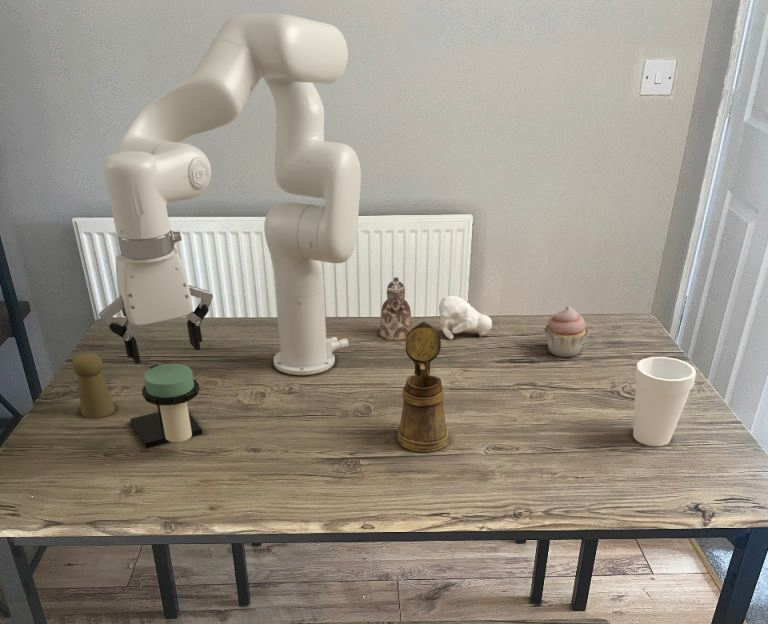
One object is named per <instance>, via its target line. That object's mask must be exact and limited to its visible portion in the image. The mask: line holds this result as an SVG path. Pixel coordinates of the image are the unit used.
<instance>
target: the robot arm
mask: <svg viewBox="0 0 768 624" xmlns="http://www.w3.org/2000/svg"><path fill="white" fill-rule="evenodd" d="M348 59H349V49H348V44H347V41H346V39H345V36H344V35H343V33H342V32H341V31H340V29H339V28H338V27H336V26H335V25H333V24H330V23H327V22H326V23H325V22H323V21H322V22H321V21H317V20H313V19H308V18H304V17H301V16H297V15H293V14H285V13H272V12H271V13H269V12H267V13H266V12H241V13H236V14H233V15H232V16H230V17H229V18H228V19H226V21H225V22H224V23H223V25H222V26H221V27H220V29H219V31H218V32H217V34H216V35H215V37H214V39H213V40H212V42H211V43H210V44H209V47H208V49H207V50H206V51H205V53H204V55H203V56H202V58H201V60H200V61H199V63H198V64H197V65H196V67H195V69H194V70H193V72H192V73H191V75H190V76H189V77H188V78H187V79H185V80H184V81H182V82H180V83H178V84H176V85H175V86H173V87H172V88H170V89H169V90H167V91H166V92H164V93H163V94H162V95H160V96H158V97H157V98H155V99H153V101H151V102H150V103H148V104H147V105H146V106H145V107H143V108H142V109H141V110H140V112H138V114H137V115H136V116H135V117H134V118H133V120H132V122H131V123H130V125H129V127H128V128H127V130H126V131H125V133H124V134H123V136H122V137H121V139H120V142H119V144H118V146H117V148H116V152H115V153H113V154H111V155H109V156H108V157H106V158H105V160H104V162H103V174H104V178H105V179H104V180H105V185H106V189H107V192H108V199H109V203H110V208H111V213H112V217H113V223H114V228H115V232H116V236H117V237H116V238H117V242H118V247H119V251H120V253H119V254H117V255H116V256H115V276H116V285H117V286H116V287H117V293H118V298H115V300H114V301H112V302H111V303H110V304H108V305H107V306H106V307H104V308H103V309H102V310H100V311H99V313H98V316H99V318H100V320H101V321H103V323H104V325H106V326H107V328H108V329H109V330H110V331H111V333H114V334H115V335H117V336H119V337H121V338H122V339H123V342H124V348H125V352H126V356H127V357H128V359H130V358H131V359H132V360H133V362H134V363H135V365H139V364H140V363H141V357H140V352H139V348H138V343H137V340H136V338H135V337H134V335H135V333H136V332H137V330H138V328H139V327H142V326H148V325H155V324H158V323H164V322H167V321H173V320H178V319H183V318H186V319H187V322H186V326H187V333H188V338H189V344H190V345H191V346H192V348H193V349H194V350H195V351H200V350H201V343H202V342H203V335H202V330H201V325H202V324H203V320H204V318H205V317H206V316H207V314H208V313H209V311H210V310H209V308H210V307H211V303H212V300H213V298H214V295H213V294H212V292H210V291H209V290H207V289H203V288H200V287H197V286H194V285H190V284H189V281H188V278H187V274H186V271H185V267H184V264H183V261H182V259H181V256H180V253H179V251H178V249H177V248H176V247H175V245H176V243H177V242H181V241H182V234H181V232H180V231H179V230H178V231H172V229H171V226H170V220H169V215H168V208H167V204H168V203H173V202H180V201H188V200H192V199H195V198H196V197H199V196H200V195H201V194H203V193H204V192H205V191H206V190H207V188H208V187H209V185H210V182H211V179H212V166H211V162H210V160H209V158H208V156H207V155H206V153H205V152H203V151H202V149H200V148H199V147H197V146H195V145H192V144H189V143H185V142H181V141H183V140H185V139H187V138H189V137H192V136H194V135H197V134H201V133H205V132H209V131H212V130H216V129H218V128H221V127H224V126H226V125H229V124H231V123H233V122H234V121H236V120H237V118H238V117H239V115H240V114H241V112H242V111H243V109H244V107H245V105H246V103H247V102H248V100H249V98H250V97H251V95H252V94H253V91H254V90H255V88H256V87H257V86H258V84H259V81H260V80H261V79H262V78H263V80H264V82H265V84H266V85H267V87H268V89H269V91H270V93H271V95H272V98H273V102H274V106H275V115H276V118H275V119H276V121H275V127H276V128H275V155H274V176H275V181H276V184H277V187H279V189H280V190H282V191H283V192H285V193H288V194H290V195H294V196H295V195H296V196H302V197H308V198H316V199H321V200H322V199H324V205H325V206H320V205H314V204H307V203H299V202H280V203H278V204H276V205H274V206H272V207H271V208H270V209H269V210H268V212H267V214H266V216H265V219H264V225H263V228H264V232H263V233H264V238H265V241H266V246H267V249H268V252H269V256H270V261H271V265H272V270H273V271H272V273H273V281H274V294H275V304H276V316H277V328H278V341H279V351H278V352H277V353H276V354H275V355H274V356H273V360H272V361H273V366H274V368H275V369H276V370H277V371H279V372H282V373H284V374H288V375H292V376H311V375H316V374H320V373H323V372H326V371H329V369H331V368H332V367H333V366H334V365H335V363H336V357H335V354H334V353H335V352H336V351H337V350H343V349H348V348H349V340H348V338H342V339H338V338H337V336H333V337H329V338H328V337H327V326H326V325H327V324H326V304H325V284H324V283H325V282H324V277H323V272H322V269H321V267H320V264H319V263H318V262H322V263H331V264H342V263H345V262H347V261H348V260H349V259H350V258H351V256H352V255H353V253H354V250H355V248H356V244H357V237H358V226H359V212H360V201H361V187H362V169H361V163H360V160H359V159H360V158H359V156H358V154H357V152H356V151H355V150H354V148H352V147H351V146H350V145H348V144H345V143H343V142H337V141H329V140H328V141H326V140H325V107H324V102H323V100H322V98H321V95H320V93H319V91H318V89H317V87H316V86H315V84H320V85H321V84H322V85H330V84H334V83H336V82H338V80H340V79H341V77H342V76H343V75H344V73H345V71H346V68H347V65H348V61H349V60H348ZM192 297H195V298H199V299H200V301H199V304H197V306H196V308H195V309H194V311H193V306H194V305H193V300H192ZM119 312H121V313H122V316H123V317H125V319H124V321H123V322H122V323H121V324H119V323H118V322H116V321H114V318H113V317H115V316H116V315H117V314H118V313H119Z"/></svg>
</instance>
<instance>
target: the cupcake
mask: <svg viewBox="0 0 768 624" xmlns="http://www.w3.org/2000/svg"><path fill="white" fill-rule="evenodd" d="M542 329H543V328H542ZM543 332H544V334H545V337H546V341H547V342H546V343H547V348H548V351H549V353H550V354H552V355H554V356H556V357H561V358H572V357H575V356H577V355H578V354H579V353H580V351H581V348H582V346H583V343H584V341H585V339H586V338H587V336H588V334H589V332H590V330H589V329H586V321H585V319H584V318H583V316H582V315H581V314H579V313H578V312H577V311H576V309H574V308H573V307H572V306H569V305H567V306H566V308H565V309H564V310H560V311H558V312H556V313H554V315H553V316H551V317H550V318H549V319H548V321H547V324H545V328H544V329H543Z"/></svg>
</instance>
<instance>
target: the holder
mask: <svg viewBox="0 0 768 624" xmlns="http://www.w3.org/2000/svg"><path fill="white" fill-rule="evenodd" d="M157 366H159V364H154V365H150V366H149V370H150V369H151V368H154V367H157ZM193 381H194V387H193V389H192V390H191V391H190V392H188V393H186V394H184V395H181V396H177V397H172V398H159V397H154V396H151V395H149V394H148V393H147V391H146V386H145V385H144V386H143V387H142V389H141V393H142V397H143V399H144V400H145V401H146V402H147V403H149V404H152V405H155V406H156V408H157V411H156V412H153V413H149V414H143V415H140V416H136V417H132V418H130V419H129V420H130V421H129V422H130V424H131V426H132V428H133V429H134V430H135V432H136V434H137V436H138V437H139V438H140V440H141V442H142V444H143V445H144V447H145V448H146V449H148V448H152V447H155V446H159V445H163V444H168V443H171V442H170V441H168V440H167V439H166V438H165V432H164V427H163V422H162V416H161V411H160V406H159V405H172V404H173V405H176V404H181V403H185V402H186V401H187V402H189V401H191V400H192V399H194V398H196V397H197V396H198V395H199V392H200V390H201V389H200V384H199V382H198V381H197V380H196V379H194V378H193ZM189 419H190V425H191V431H192V436H191V437H194V436H198V435H202V434H203V431H202V428H201V426H200V425H199V424H198V422H197V421H196V420H195V419H194V417H193V416H192V414H191V413H190V412H189Z"/></svg>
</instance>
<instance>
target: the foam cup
mask: <svg viewBox="0 0 768 624" xmlns="http://www.w3.org/2000/svg"><path fill="white" fill-rule="evenodd" d="M696 376H697V371H696V367H694V366H693V365H691V364H690V363H688V362H687V361H684V360H681V359H678V358H673V357H669V356H649V357H646V358H642V359H641V360H639V361H638V362H637V363H636V368H635V372H634V384H635V386H634V405H633V427H632V429H633V430H632V436H633V439H635V440H636V442H638V443H640V444H643V445H645V446H650V447H663V446H666V445H668V444H669V443H670V442H671V440H672V438H673V435H674V433H675V431H676V427H677V425H678V423H679V420H680V417H681V415H682V412H683V410H684V408H685V405H686V403H687V400H688V397H689V395H690V393H691V390H692V388H693V387H694V385H695V381H696Z"/></svg>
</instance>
